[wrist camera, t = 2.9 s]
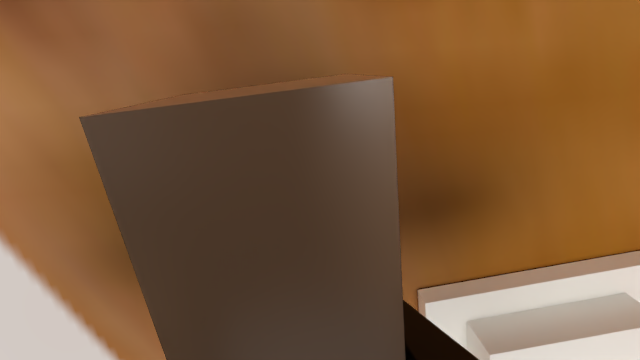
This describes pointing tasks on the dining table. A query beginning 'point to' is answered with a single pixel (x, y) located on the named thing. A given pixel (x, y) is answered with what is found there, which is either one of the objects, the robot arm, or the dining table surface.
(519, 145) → the dining table surface
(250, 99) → the gray cuboid brick
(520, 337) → the display rest
